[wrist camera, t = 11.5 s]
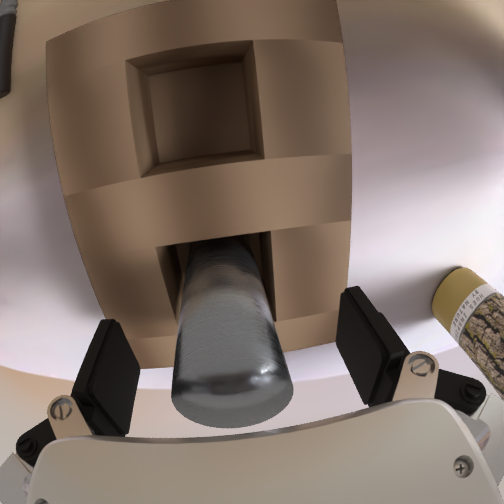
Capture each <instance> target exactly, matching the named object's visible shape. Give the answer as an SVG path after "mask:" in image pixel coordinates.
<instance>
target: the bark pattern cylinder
mask: <svg viewBox="0 0 504 504" xmlns="http://www.w3.org/2000/svg"><path fill="white" fill-rule="evenodd" d="M432 311H433V315H434V316H435V318H436V319H437V320H438V321H439V322H440V323H441V325H442V326H443V327H444V328H445V329H446V330H447V331H448V332H449V333H450V335H451V336H452V337H453V338H454V340H455V341H456V342H457V343H458V344H459V345H460V346H461V348H462V349H463V350H464V351H465V352H466V354H467V355H468V356H469V357H470V358H471V360H472V361H473V362H474V363H475V364H476V366H477V367H478V368H479V370H480V371H481V372H482V373H483V375H484V376H485V377H486V378H487V380H488V381H489V382H490V384H491V385H492V386H493V387H494V389H495V390H496V392H497V393H498V394H499V395H500V397H501V398H502V400H503V401H504V296H503V295H501V294H500V293H499V292H498V291H497V290H496V289H494V288H493V287H492V286H491V285H489V284H488V283H487V282H485V281H484V280H483V279H482V278H481V277H479V276H478V275H477V274H476V273H474V272H473V271H472V270H470V269H468V268H459V269H456V270H454V271H453V272H451V273H450V274H449V275H448V276H447V277H446V278H445V279H444V280H443V281H442V283H441V284H440V285H439V287H438V289H437V291H436V293H435V295H434V298H433V302H432Z"/></svg>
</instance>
